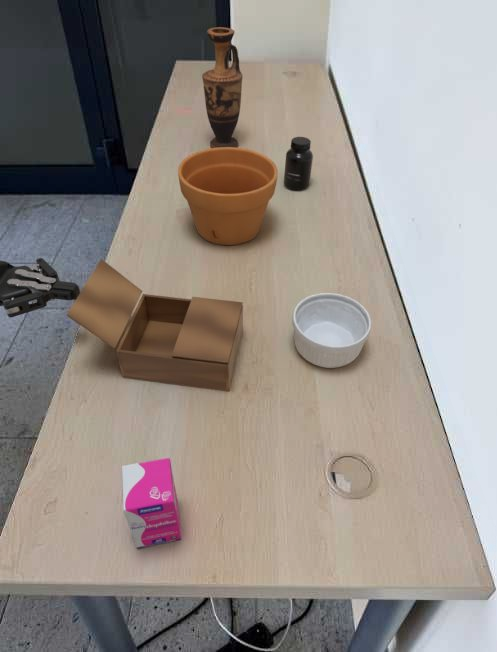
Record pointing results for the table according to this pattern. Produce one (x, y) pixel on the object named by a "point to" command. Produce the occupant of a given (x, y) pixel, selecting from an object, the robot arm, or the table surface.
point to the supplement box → (151, 502)
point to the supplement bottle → (298, 164)
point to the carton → (182, 341)
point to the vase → (223, 89)
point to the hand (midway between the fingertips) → (77, 292)
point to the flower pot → (227, 192)
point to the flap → (105, 303)
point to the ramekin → (330, 329)
